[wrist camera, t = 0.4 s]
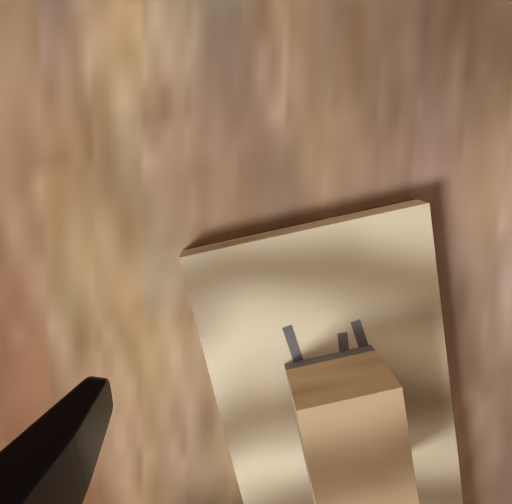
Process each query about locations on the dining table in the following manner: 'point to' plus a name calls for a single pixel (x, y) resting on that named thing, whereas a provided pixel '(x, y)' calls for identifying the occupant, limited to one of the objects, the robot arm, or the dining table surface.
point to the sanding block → (353, 429)
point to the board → (324, 337)
